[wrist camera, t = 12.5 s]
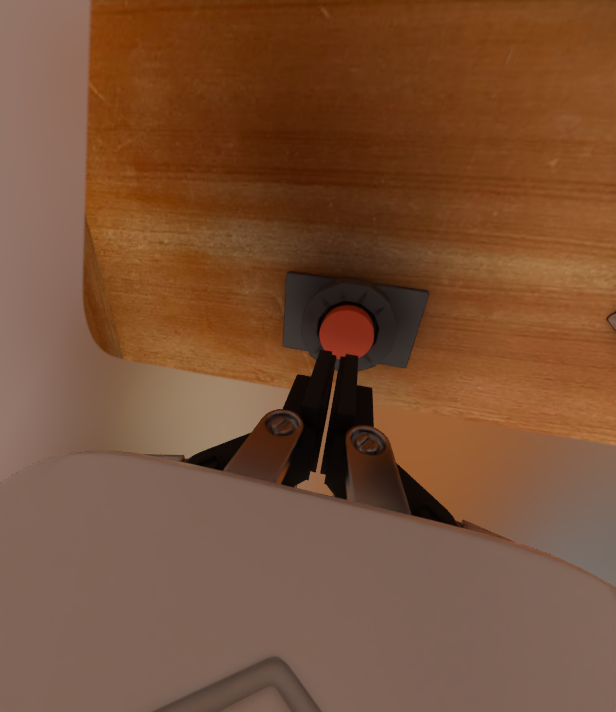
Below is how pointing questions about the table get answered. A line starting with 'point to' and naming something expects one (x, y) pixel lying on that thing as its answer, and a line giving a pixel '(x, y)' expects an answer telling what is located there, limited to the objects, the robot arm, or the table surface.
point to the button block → (382, 302)
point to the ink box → (613, 320)
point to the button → (347, 331)
